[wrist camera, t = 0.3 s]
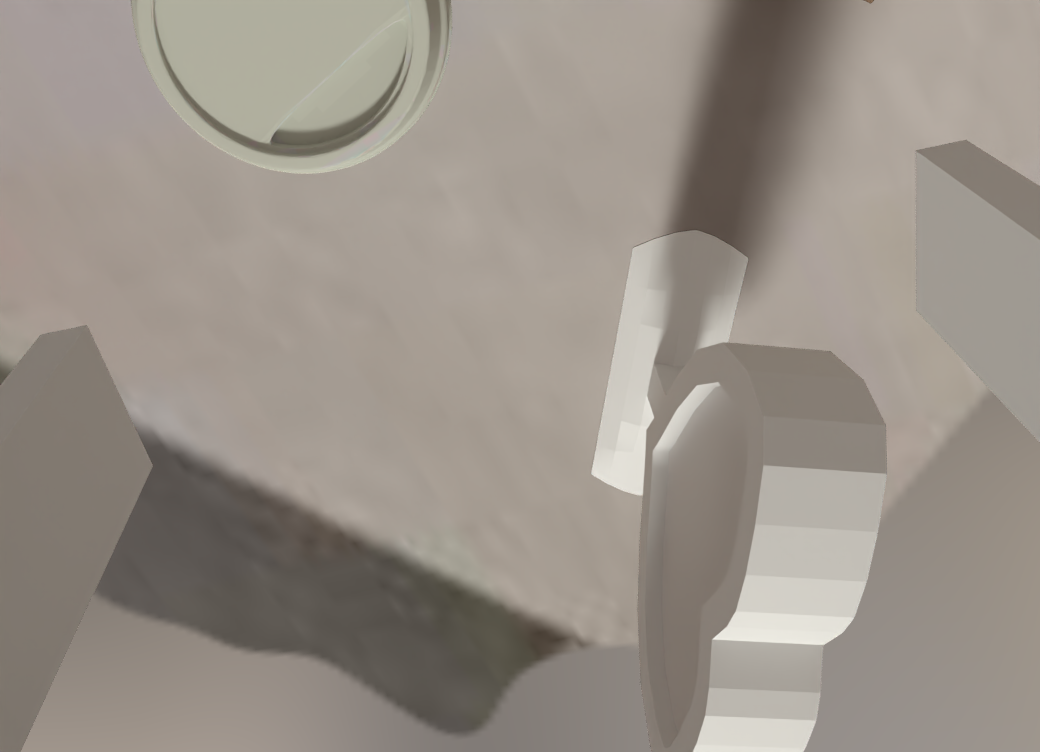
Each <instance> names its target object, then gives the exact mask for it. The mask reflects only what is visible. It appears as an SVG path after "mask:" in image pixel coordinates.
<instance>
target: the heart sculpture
mask: <svg viewBox="0 0 1040 752" xmlns="http://www.w3.org/2000/svg"><path fill="white" fill-rule="evenodd" d="M748 259H749V258H747V257H746V256H745V255H743V254H742V253H741V252H739V251H738V250H737V249H735V248H734V247H732V246H731V245H729V244H727V243H726V242H724V241H722V240H720V239H719V238H717V237H715V236H713V235H710V234H707V233H704V232H701V231H698V230H691V231H684V232H676V233H673V234H669V235H666V236H663V237H659V238H656V239H653V240H651V241H648V242H646V243H643V244H641V245H639V246H636V247H634V248H633V251H632V256H631V262H630V267H629V272H628V278H627V283H626V289H625V294H624V299H623V305H622V310H621V316H620V321H619V326H618V332H617V337H616V343H615V348H614V353H613V359H612V364H611V370H610V375H609V380H608V386H607V391H606V397H605V402H604V407H603V413H602V418H601V424H600V429H599V434H598V440H597V445H596V451H595V456H594V461H593V467H592V472H591V474H592V475H593V476H595V477H597V478H598V479H600V480H602V481H603V482H605V483H607V484H609V485H611V486H613V487H615V488H618V489H620V490H622V491H625V492H628V493H632V494H636V495H643V498H642V513H641V528H640V544H639V576H638V607H637V612H638V636H639V660H640V683H641V690H642V696H643V703H644V709H645V716H646V723H647V729H648V736H649V742H650V747H651V751H652V752H803V751H804V750H805V748H806V745H807V743H808V740H809V738H810V735H811V733H812V730H813V728H814V725H815V722H816V719H817V713H818V706H819V700H820V694H821V676H822V658H823V645H824V644H826V643H827V642H829V641H830V640H832V639H834V638H835V637H836V636H838V635H840V634H841V633H843V632H844V630H845V629H846V628H847V626H848V625H849V624H850V622H851V621H852V620H853V619H854V617H855V614H856V611H857V608H858V605H859V602H860V600H861V597H862V594H863V591H864V588H865V585H866V582H867V578H868V574H869V569H870V565H871V560H872V556H873V552H874V547H875V543H876V538H877V534H878V529H879V522H880V516H881V509H882V503H883V496H884V490H885V484H886V477H887V451H886V424H885V422H884V420H883V418H882V416H881V414H880V412H879V410H878V408H877V406H876V404H875V402H874V400H873V398H872V396H871V394H870V392H869V390H868V388H867V386H866V384H865V382H864V380H863V379H862V378H861V377H860V376H858V375H857V374H856V373H855V372H854V371H853V370H852V369H850V368H849V367H848V366H847V365H846V364H845V363H843V362H842V361H841V360H840V359H839V358H838V357H836V356H835V355H834V354H833V353H832V352H831V351H822V350H810V349H798V348H786V347H774V346H762V345H750V344H738V343H728V340H729V336H730V332H731V328H732V324H733V320H734V316H735V312H736V308H737V304H738V300H739V295H740V291H741V287H742V283H743V279H744V275H745V271H746V267H747V263H748Z"/></svg>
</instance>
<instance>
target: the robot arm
mask: <svg viewBox="0 0 1040 752" xmlns="http://www.w3.org/2000/svg"><path fill="white" fill-rule="evenodd" d="M916 311H917V312H918V313H919V314H920V315H921V316H922V317H923V319H924V320H925V321H926V322H927V323H928V324H929V325H930V326H931V327H932V328H933V329H934V330H935V331H936V332H937V333H938V335H939V336H940V337H941V338H942V339H943V340H944V341H945V342H946V343H947V344H948V345H949V346H950V347H951V348H952V349H953V351H954V352H955V353H956V354H957V355H958V356H959V357H960V358H961V359H962V360H963V361H964V362H965V363H966V364H967V365H968V367H969V368H970V369H971V370H972V371H973V372H974V373H975V374H976V375H977V376H978V377H979V378H980V379H981V380H982V381H983V383H984V384H985V385H986V386H987V387H988V388H989V389H990V390H991V391H992V392H993V393H994V394H995V395H996V396H997V397H998V398H999V399H1000V401H1001V402H1002V403H1003V404H1004V405H1005V406H1006V407H1007V408H1008V409H1009V410H1010V411H1011V412H1012V413H1013V414H1014V416H1016V418H1017V419H1018V420H1019V421H1020V422H1021V423H1022V424H1023V425H1024V426H1025V427H1026V428H1027V429H1028V430H1029V432H1030V433H1031V434H1032V435H1033V436H1034V437H1035V438H1036V439H1037V440H1038V441H1039V442H1040V186H1038V185H1037V184H1035V183H1034V182H1032V181H1030V180H1029V179H1027V178H1026V177H1024V176H1023V175H1021V174H1019V173H1018V172H1016V171H1015V170H1013V169H1011V168H1010V167H1008V166H1007V165H1005V164H1003V163H1002V162H1000V161H999V160H997V159H996V158H994V157H992V156H991V155H989V154H988V153H986V152H984V151H983V150H981V149H980V148H978V147H976V146H975V145H973V144H972V143H970V142H969V141H967V140H963V141H958V142H954V143H949V144H944V145H939V146H935V147H930V148H925V149H920V150H916ZM152 466H153V465H152V463H151V461H150V459H149V457H148V455H147V452H146V450H145V448H144V446H143V444H142V442H141V440H140V437H139V435H138V433H137V431H136V429H135V427H134V425H133V422H132V420H131V418H130V416H129V414H128V412H127V410H126V407H125V405H124V403H123V401H122V399H121V397H120V395H119V392H118V390H117V388H116V386H115V384H114V382H113V380H112V377H111V375H110V373H109V371H108V369H107V367H106V365H105V362H104V360H103V358H102V356H101V354H100V352H99V350H98V347H97V345H96V343H95V341H94V339H93V337H92V335H91V333H90V330H89V328H88V326H87V325H85V326H80V327H76V328H71V329H66V330H61V331H57V332H52V333H47V334H42V335H40V336H39V338H38V339H37V340H36V341H35V343H34V344H33V345H32V346H31V348H30V349H29V350H28V351H27V353H26V354H25V355H24V356H23V358H22V359H21V360H20V361H19V363H18V364H17V365H16V366H15V368H14V369H13V370H12V372H11V373H10V374H9V375H8V377H7V378H6V379H5V380H4V382H3V383H2V384H1V385H0V752H21V750H22V747H23V745H24V743H25V741H26V739H27V736H28V734H29V732H30V730H31V728H32V726H33V723H34V721H35V719H36V717H37V715H38V713H39V710H40V708H41V706H42V704H43V702H44V700H45V698H46V695H47V693H48V691H49V689H50V687H51V684H52V682H53V680H54V678H55V676H56V674H57V672H58V670H59V667H60V665H61V663H62V661H63V659H64V657H65V654H66V652H67V650H68V648H69V646H70V644H71V641H72V639H73V637H74V635H75V633H76V631H77V628H78V626H79V624H80V622H81V620H82V617H83V615H84V613H85V611H86V609H87V607H88V605H89V602H90V600H91V598H92V596H93V594H94V592H95V590H96V587H97V585H98V583H99V581H100V579H101V577H102V574H103V572H104V570H105V568H106V566H107V564H108V561H109V559H110V557H111V555H112V553H113V551H114V548H115V546H116V544H117V542H118V540H119V538H120V535H121V533H122V531H123V529H124V527H125V525H126V522H127V520H128V518H129V516H130V514H131V512H132V509H133V507H134V505H135V503H136V501H137V499H138V497H139V494H140V492H141V490H142V488H143V486H144V484H145V481H146V479H147V477H148V475H149V473H150V471H151V468H152Z"/></svg>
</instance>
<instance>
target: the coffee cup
mask: <svg viewBox="0 0 1040 752" xmlns="http://www.w3.org/2000/svg"><path fill="white" fill-rule="evenodd" d="M131 6H132V16H133V23H134V28H135V33H136V37H137V40H138V44H139V47H140V50H141V53H142V56H143V58H144V61H145V63H146V66H147V68H148V70H149V72H150V74H151V76H152V78H153V80H154V81H155V83H156V85H157V87H158V88H159V90H160V91H161V93H162V94H163V96H164V97H165V99H166V100H167V101H168V103H169V104H170V105H171V107H172V108H173V109H174V110H175V111H176V113H177V114H178V115H179V116H180V117H181V118H182V119H183V121H184V122H185V123H186V124H188V125H189V126H190V127H191V128H192V129H193V130H194V131H195V132H196V133H197V134H199V135H200V136H201V137H203V138H204V139H205V140H207V141H208V142H209V143H211V144H212V145H214V146H215V147H217V148H219V149H220V150H222V151H224V152H225V153H227V154H229V155H231V156H233V157H236V158H238V159H240V160H242V161H245V162H247V163H250V164H252V165H255V166H258V167H262V168H266V169H270V170H274V171H280V172H287V173H299V174H311V173H323V172H330V171H335V170H340V169H344V168H347V167H350V166H353V165H356V164H359V163H361V162H364V161H366V160H368V159H370V158H372V157H374V156H376V155H377V154H379V153H380V152H382V151H384V150H385V149H387V148H388V147H389V146H391V145H392V144H393V143H395V142H396V141H397V140H398V139H400V138H401V137H402V136H403V135H404V134H405V133H406V132H407V131H408V130H409V129H410V128H411V127H412V126H413V125H414V124H415V123H416V122H417V121H418V119H419V118H420V117H421V116H422V114H423V113H424V112H425V110H426V109H427V107H428V106H429V104H430V102H431V101H432V99H433V97H434V95H435V93H436V91H437V89H438V87H439V85H440V82H441V80H442V77H443V74H444V71H445V68H446V64H447V61H448V56H449V51H450V45H451V35H452V9H451V0H131Z"/></svg>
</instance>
